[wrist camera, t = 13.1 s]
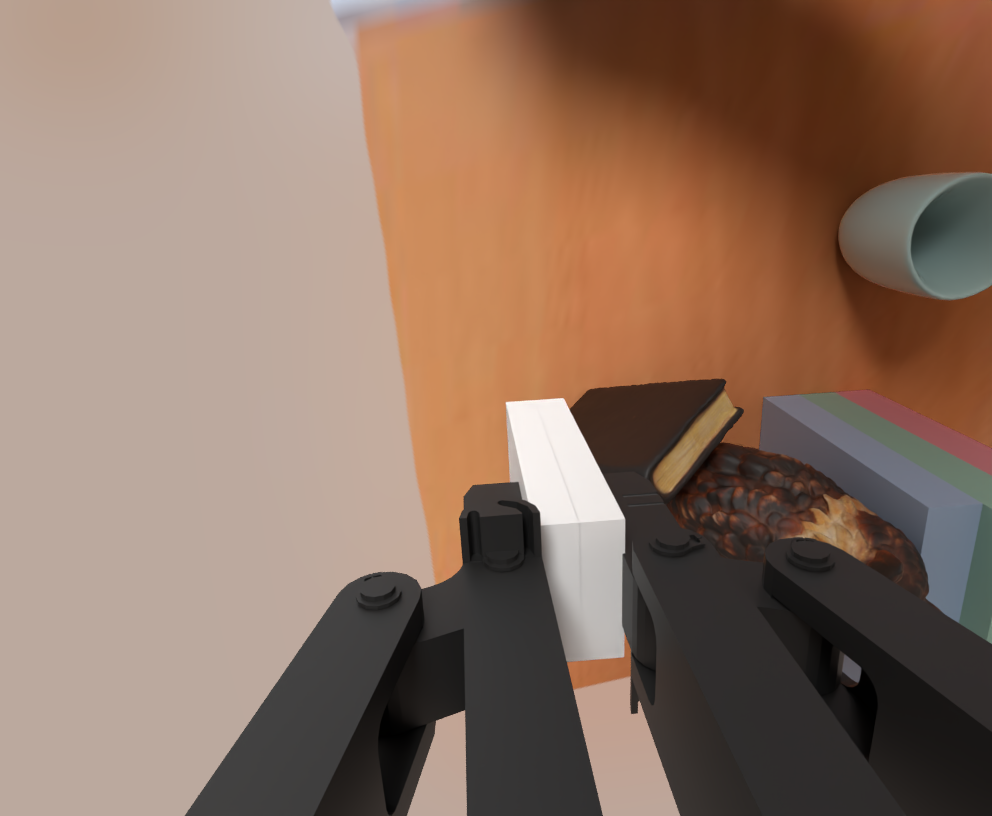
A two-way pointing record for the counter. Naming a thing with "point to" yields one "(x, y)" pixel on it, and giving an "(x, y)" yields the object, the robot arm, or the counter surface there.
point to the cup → (923, 234)
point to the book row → (901, 486)
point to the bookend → (734, 478)
